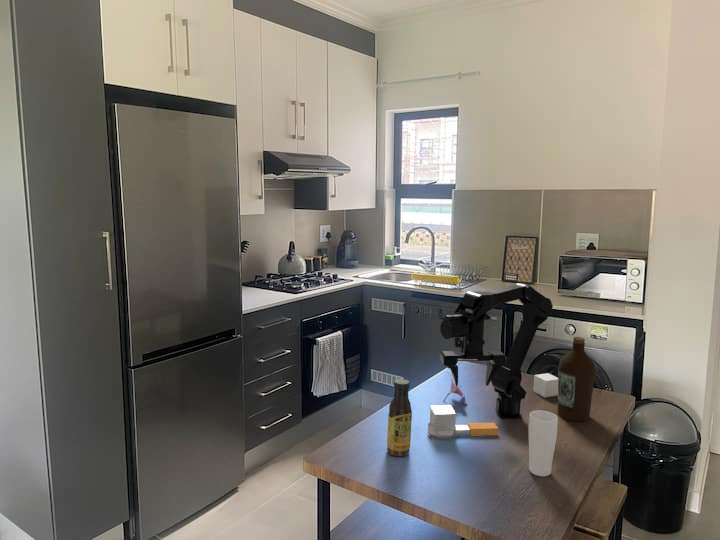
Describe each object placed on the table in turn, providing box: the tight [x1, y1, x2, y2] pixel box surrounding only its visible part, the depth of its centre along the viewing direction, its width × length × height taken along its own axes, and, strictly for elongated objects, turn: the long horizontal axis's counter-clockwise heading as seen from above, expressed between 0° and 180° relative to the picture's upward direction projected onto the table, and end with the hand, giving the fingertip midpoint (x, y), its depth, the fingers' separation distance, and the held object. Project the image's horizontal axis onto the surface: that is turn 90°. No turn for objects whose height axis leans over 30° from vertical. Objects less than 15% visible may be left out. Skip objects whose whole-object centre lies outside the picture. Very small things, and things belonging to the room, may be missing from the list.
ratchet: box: [427, 421, 499, 441], centre depth 154 cm, size 20×8×5 cm, turn 94°
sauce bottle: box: [386, 378, 413, 457], centre depth 142 cm, size 6×6×20 cm
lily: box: [442, 370, 468, 405], centre depth 177 cm, size 12×12×10 cm
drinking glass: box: [528, 409, 559, 478], centre depth 133 cm, size 7×7×15 cm
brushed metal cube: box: [429, 404, 457, 431], centre depth 153 cm, size 6×6×5 cm
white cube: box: [532, 372, 558, 398], centre depth 184 cm, size 6×6×6 cm
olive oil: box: [556, 336, 596, 422], centre depth 165 cm, size 11×11×25 cm
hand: (471, 385), depth 159 cm, fingers open, 9 cm apart
